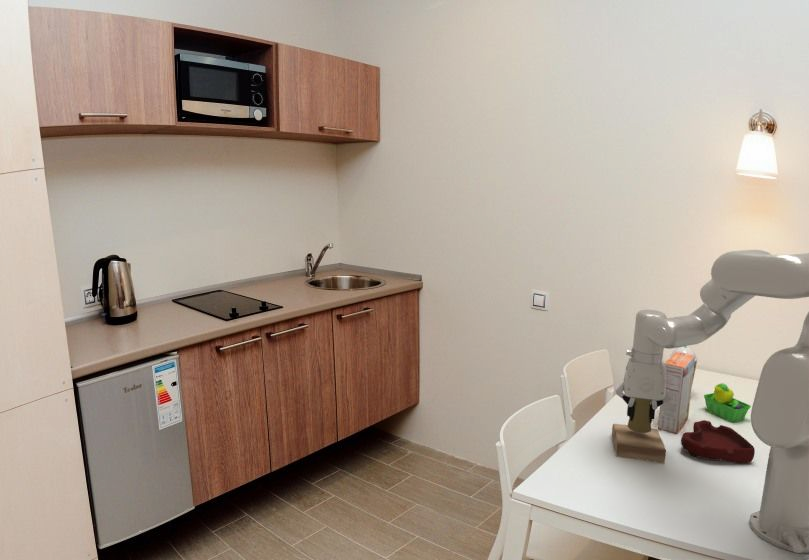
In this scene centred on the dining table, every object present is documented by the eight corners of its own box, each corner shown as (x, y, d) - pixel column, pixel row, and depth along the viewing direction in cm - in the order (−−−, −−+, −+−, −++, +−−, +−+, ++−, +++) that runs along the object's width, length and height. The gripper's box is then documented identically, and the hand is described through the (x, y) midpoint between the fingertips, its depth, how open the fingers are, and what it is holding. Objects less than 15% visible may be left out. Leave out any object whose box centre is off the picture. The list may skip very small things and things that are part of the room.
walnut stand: (664, 462, 143) (666, 449, 142) (616, 456, 146) (617, 442, 145) (656, 441, 154) (657, 428, 153) (611, 435, 157) (612, 423, 156)
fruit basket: (750, 421, 168) (755, 387, 166) (729, 425, 165) (735, 390, 163) (717, 406, 178) (721, 374, 176) (697, 410, 175) (702, 377, 173)
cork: (653, 434, 145) (658, 395, 143) (629, 431, 146) (633, 393, 144) (648, 423, 151) (652, 386, 149) (625, 421, 152) (629, 384, 150)
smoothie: (660, 392, 189) (666, 337, 186) (677, 388, 193) (683, 334, 189) (681, 401, 182) (688, 344, 178) (698, 397, 185) (705, 341, 182)
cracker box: (667, 413, 173) (675, 350, 169) (688, 418, 169) (696, 355, 165) (655, 428, 162) (663, 362, 158) (677, 434, 158) (685, 367, 154)
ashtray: (744, 478, 137) (746, 459, 136) (675, 454, 148) (677, 437, 147) (760, 452, 149) (763, 436, 148) (696, 432, 160) (698, 417, 159)
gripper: (615, 357, 143) (609, 421, 147) (684, 364, 139) (676, 430, 142) (612, 348, 150) (606, 410, 154) (678, 355, 146) (670, 418, 150)
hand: (640, 419), depth 148 cm, fingers closed on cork, 4 cm apart
